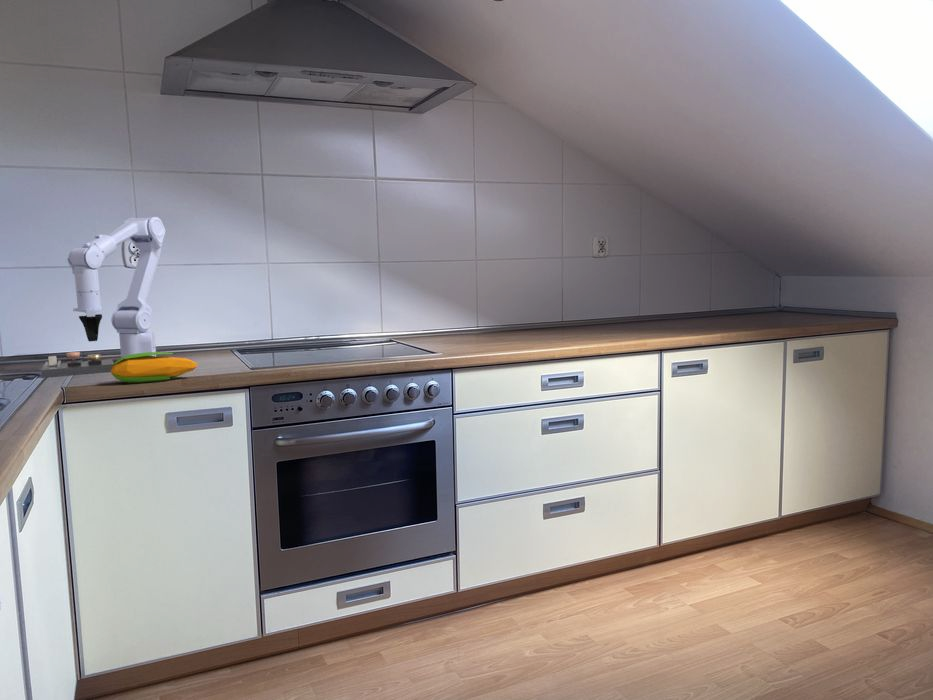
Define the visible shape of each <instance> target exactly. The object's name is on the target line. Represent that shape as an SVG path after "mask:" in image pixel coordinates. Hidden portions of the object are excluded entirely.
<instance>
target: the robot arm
mask: <svg viewBox="0 0 933 700" xmlns="http://www.w3.org/2000/svg"><path fill="white" fill-rule="evenodd" d="M166 232H167V231H166V228H165V226H164V223H163V221H162V220H161V218H160V217H158V216H152V217H129V218H128V219H125V220H123V222H122V224H121V225H119V226H118V227H117V228H115V230H113V231H112V232H111V233H109V234H108V235H107V234H102V233H101V234H100V233H99V234H96V235H95V236H94V239H92V240H90V241H89V242H85V243H83V246H82V247H75V248H73V249H72V250H71V251H70V252H69V254H68V258H67V259H66V260H67V263H68V265H69V266H70V268H71V271H72V274H73V275H74V284H75V291H76V292H75V293H76V301H77V303H76V304H77V307H76V308H73V309H72V311H73V312H79V313H85V314H86V315H79V316H78V319H79V320H80V321H81V323H82V326H83V327H84V331H85V334H86V337H87V341H88V342H98V338H99V329H100V324H101V320H102V318H103V314H101V313H99V314H98V313H97V312H100V311H103V306H102V300H101V290H100V289H101V287H100V278H99V268H100V267H101V266H102V264H103V261H104V260H105V259H106V258H108V257H109V256H111V255H112V254H114V253H115V252H116V251H117V246H118V245H120V244H121V243H123V242H126V241H127V240H128V239H129V240H130V241H131V242H132V243H133V246H134V247H135V248H136V249H138V250H139V251H140V253H139V257H138V259H137V262H136V266H135V269H134V273H133V276H132V280H131V283H130V286H129V290H128V292H127V295H126V298H125V299H124V300H122V301H121V302H120V303H118V304H117V308H116V310H115V311H114V312H113V313H112V315H111V324H112V326H113V328H114V329H115V330H116V333H118V335H119V347H120V348H119V349H120V357H121V358H123V357H124V356H128V355H132V354H137V353H147V352H157V348H156V338H155V337H156V336H155V333H154V332H153V331H149V329H150V327H151V324H152V313H153V309H152V307H150V305H149V304H148V303H147V302H148V299H149V296H150V292H151V288H152V284H153V281H154V277H155V274H156V271H157V267H158V265H159V262H160V261H159V260H160V258H161V257H160V256H161V254H162V246H163V242H164V238H165V234H166ZM96 313H97V314H96ZM148 356H155V357H157V355H148ZM121 358H120V359H121Z"/></svg>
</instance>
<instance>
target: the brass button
mask: <svg viewBox="0 0 933 700" xmlns="http://www.w3.org/2000/svg"><path fill="white" fill-rule="evenodd" d="M101 356H102V355H101V353H95V354H93V353H92V354H87V361H88V360H93V361H96V360H98V359H101V360H102V357H101Z"/></svg>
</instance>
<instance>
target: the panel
mask: <svg viewBox="0 0 933 700" xmlns="http://www.w3.org/2000/svg"><path fill="white" fill-rule="evenodd" d="M114 363H115V362H114V361H113V359H111V358H109V359H102V358H101V359H98V360H96V361H93V360H88V359H87V361H85V360H84V361H82V360H71V361H67V362H63V363H62V360H57V365H49V360H48V361H45V363H44V364H42V367H41V377H42V378H43V379H44V378H53V377H54V378H56V377H67V376H75V375H76V376H77V375H87V374H88V375H89V374H100V373H99V372H102V373H111V367H112V366H113V365H114Z"/></svg>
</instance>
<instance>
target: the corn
mask: <svg viewBox="0 0 933 700" xmlns="http://www.w3.org/2000/svg"><path fill="white" fill-rule="evenodd" d="M173 354H174V353H173V352H159V351H158V352H157V351H156V352H147V353H137V354H132V355H128V356H124V357H123V358H119V359H118V360H116V361H115V362H113V363H114V365H113V366H112V367H111V372H110V373H111V375H112V376H113V377H114V378H115V379H116V380H118V381H121V382H123V383H128V384H141V383H155V382H164V381H168V380H171V378H170V377H173V378H175V377H179V376H183V375H184V374H187V373H189V372H191V371H194V370H195V369H196V368H197V367H198V363H197V362H195V361H193V360H191V359H189V358H184V357H173V356H157V355H173ZM148 355H156V357H155V356H148Z"/></svg>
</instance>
